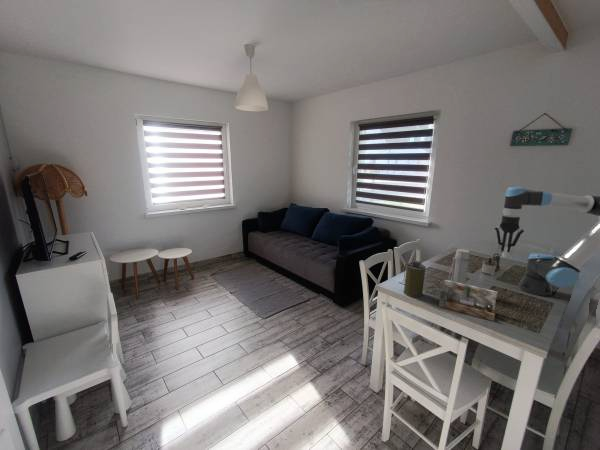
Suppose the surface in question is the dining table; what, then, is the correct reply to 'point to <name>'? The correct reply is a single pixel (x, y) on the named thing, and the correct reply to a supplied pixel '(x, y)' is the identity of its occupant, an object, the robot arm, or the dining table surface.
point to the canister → (414, 279)
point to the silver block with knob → (470, 302)
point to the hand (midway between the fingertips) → (504, 257)
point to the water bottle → (460, 266)
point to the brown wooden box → (454, 291)
